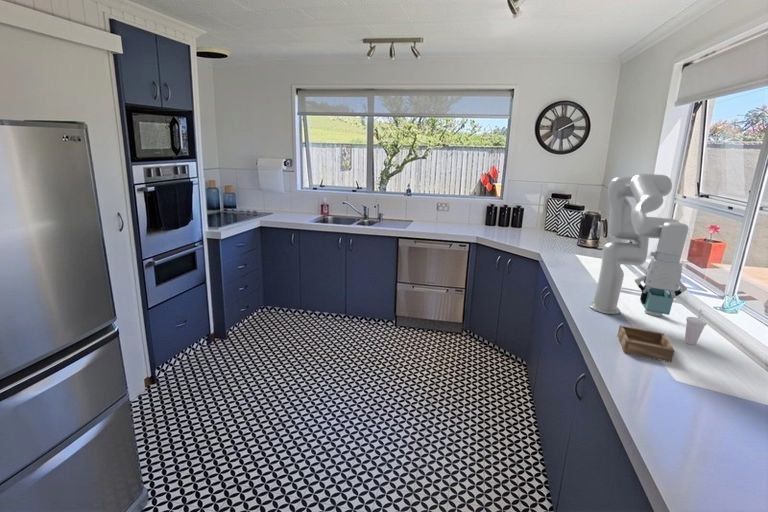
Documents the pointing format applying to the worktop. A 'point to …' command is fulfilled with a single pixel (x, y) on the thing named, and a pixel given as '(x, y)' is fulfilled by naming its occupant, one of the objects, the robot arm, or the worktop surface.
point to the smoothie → (694, 329)
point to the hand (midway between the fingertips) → (655, 304)
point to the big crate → (645, 343)
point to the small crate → (658, 301)
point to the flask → (653, 313)
